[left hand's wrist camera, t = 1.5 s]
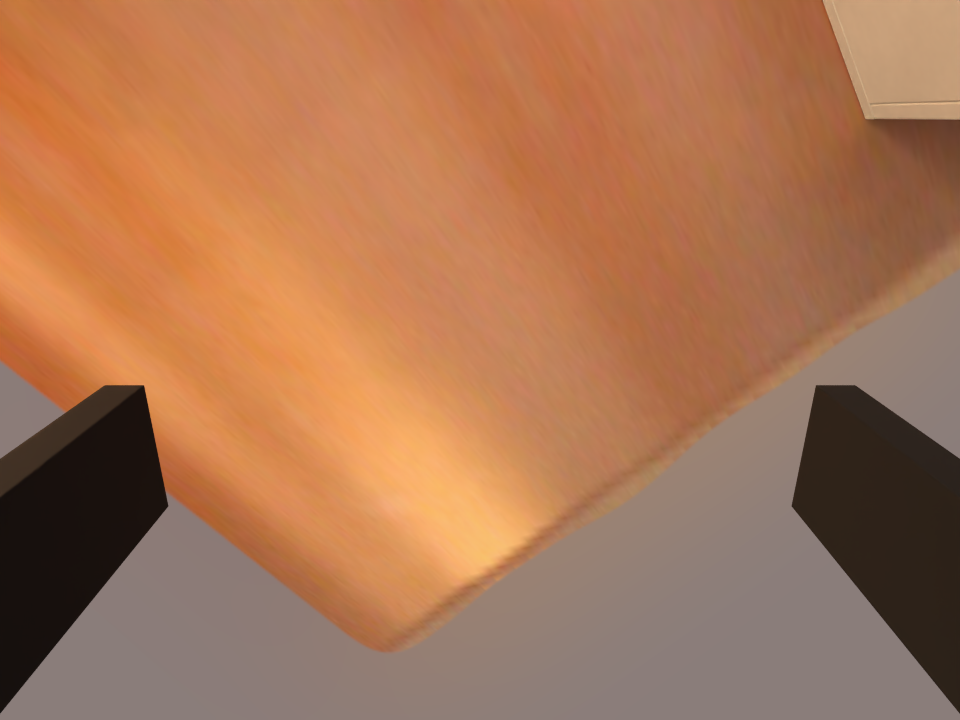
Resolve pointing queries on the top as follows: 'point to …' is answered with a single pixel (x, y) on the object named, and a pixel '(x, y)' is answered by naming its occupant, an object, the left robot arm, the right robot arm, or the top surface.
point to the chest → (901, 55)
